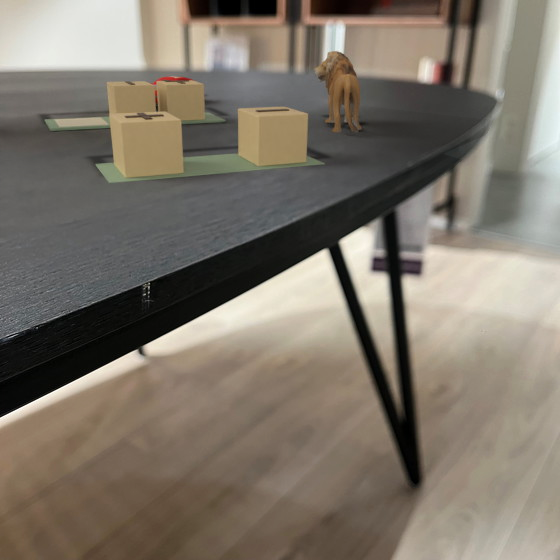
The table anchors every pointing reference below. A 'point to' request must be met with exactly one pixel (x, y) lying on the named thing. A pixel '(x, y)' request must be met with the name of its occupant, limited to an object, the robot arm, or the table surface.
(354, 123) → the lion figurine
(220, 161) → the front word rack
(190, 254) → the table surface
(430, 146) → the table surface
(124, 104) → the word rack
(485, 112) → the table surface
